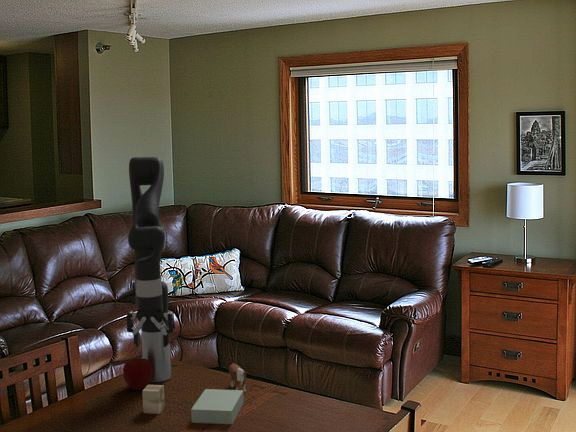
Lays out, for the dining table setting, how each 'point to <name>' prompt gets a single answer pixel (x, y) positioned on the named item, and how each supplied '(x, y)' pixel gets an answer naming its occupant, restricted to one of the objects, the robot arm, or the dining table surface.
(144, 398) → the maple block
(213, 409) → the plinth
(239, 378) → the bull figurine
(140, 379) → the apple
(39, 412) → the dining table surface
